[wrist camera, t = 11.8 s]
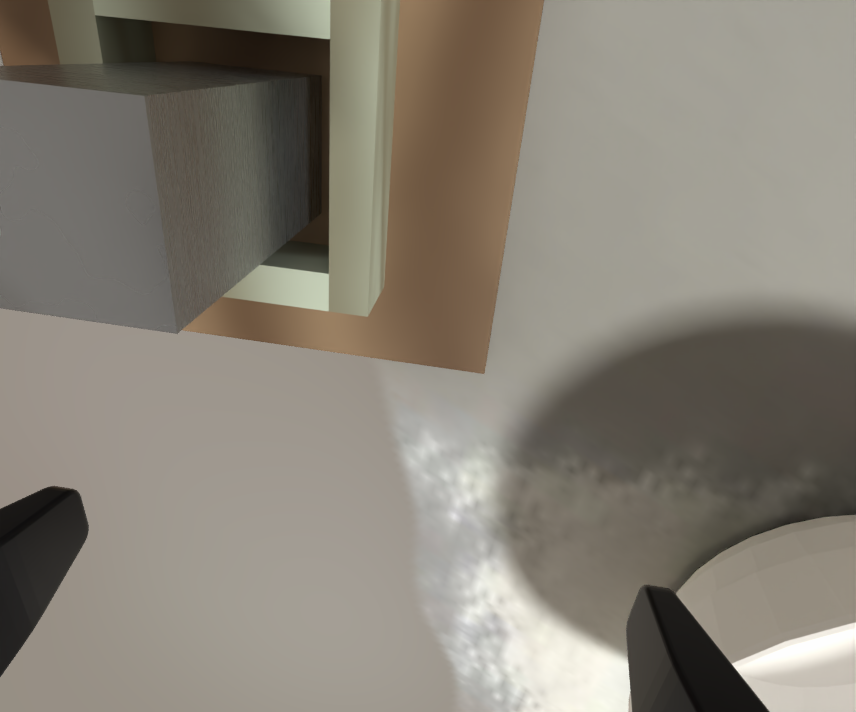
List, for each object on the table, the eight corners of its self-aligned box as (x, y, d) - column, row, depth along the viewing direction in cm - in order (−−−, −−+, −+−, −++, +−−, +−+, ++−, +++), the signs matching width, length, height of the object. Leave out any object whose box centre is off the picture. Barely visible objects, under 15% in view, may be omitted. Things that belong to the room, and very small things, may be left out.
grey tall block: (321, 75, 16) (143, 95, 8) (321, 213, 18) (177, 333, 10) (189, 61, 17) (-102, 68, 9) (203, 197, 19) (-25, 304, 11)
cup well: (561, -118, 14) (574, -164, 11) (485, 360, 21) (480, 412, 18) (-23, -164, 16) (-154, -217, 13) (81, 302, 22) (12, 342, 19)
